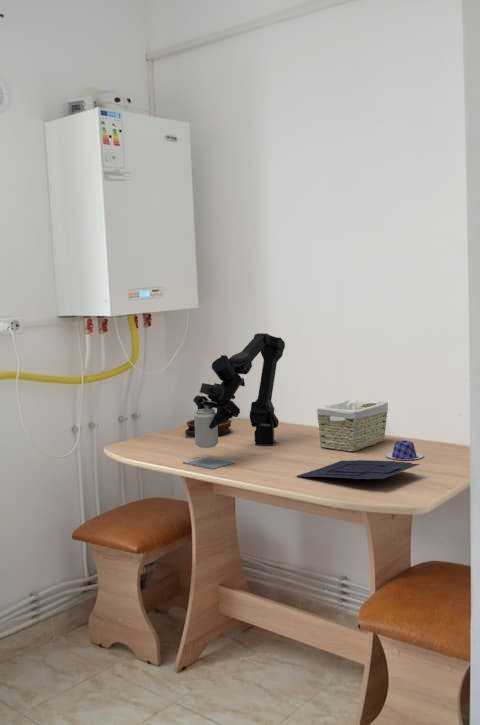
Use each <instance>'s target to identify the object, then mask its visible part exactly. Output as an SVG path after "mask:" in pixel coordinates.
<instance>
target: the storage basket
mask: <svg viewBox="0 0 480 725" xmlns="http://www.w3.org/2000/svg"><path fill="white" fill-rule="evenodd" d="M316 409H317V412H316V415H317V423H318V430H319V432H318V433H319V443H320V444H319V445H320V447H321V448H325V449H326V448H327V449H331V450H338V451H344V452H356V451H359V450H362V449H365V448H367V447H371V446H374V445H376V444H379V443H381V442H384V441H386V440H385V438H386V431H387V430H386V429H387V418H388V411H389V403H388V401H386V400H385V401H384V400H382V401H381V400H372V399H359V398H352V399H345V400H341V401H340V400H339V401H336V402H333V403H327V404H323V405H322V406H321V405H320V406H319V407H317V408H316Z"/></svg>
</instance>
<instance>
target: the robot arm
mask: <svg viewBox="0 0 480 725" xmlns="http://www.w3.org/2000/svg"><path fill="white" fill-rule="evenodd" d="M285 348H286V343H285V341H284V340H283V338H281V337H276V336H274V335H270V334H268V333H263V332H262V333H256V334H254V335H253V338H252V339H251V340H250V341H249V342H248V344H247V345H246V346H245V347H244V348H243V350H241V351H240V352H238V353H236V354H233V355H231V356H230V357H228V356H227V355H226V354H224V355H223V354H222V355H220V357H218V358H217V359H215V360H214V361H213V362H212V364H211V369H212V370H213V372H214V374H216V376H217V378H218V379H219V381H221V382H220V383H217V382H214V384H210V383H201V386H200V389H199V393H200V394H204V395H195V397H194V398H193V399H192V401H193V403H195V405H196V406H197V410H199V409H216V412H215V413H216V415H215V417H214V418H213V420H212V422H211V424H210V426H209V428H210V429H213V428H214V427H216V426H217V425H219V424H221V423H222V422H224V421H226V420H228V419H229V420H231V419H233V418H238V416H239V415H240V413H241V408H240V407H238V405H237V404H236V403H235V401H233V400H235V399H236V395H235V394H236V393H237V391H238V389H239V388H240V387H245V386H246V382H245V377H242V376H241V375H247V374H248V373H249V372H250V371H251V369H252V368H253V363H252V362H253V361H254V359H255V358H256V357H257V356H258V355H259V354H261V357H262V359H263V362H262V368H261V376H260V382H259V388H258V394H257V395H258V396H257V399H256V400H255V401H252V402H251V405H250V411H249V420H250V424H251V428H255V430H254V444H255V446H274V444H275V443H276V440H275V429H277V428H278V427H279V424H280V423H279V421H280V420H279V419H278V417H277V416H276V414H275V407H274V405H273V402H272V398H273V391H274V384H275V377H276V371H277V365H278V364H277V363H278V362H279V360H280V359H281V358H282V357H283V354H284V350H285ZM205 395H206V396H205Z"/></svg>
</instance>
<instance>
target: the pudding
mask: <svg viewBox="0 0 480 725" xmlns="http://www.w3.org/2000/svg"><path fill="white" fill-rule="evenodd" d="M385 456H386V457H387V458H389V459H392V460H398V461H413V460H419V459H421V458H423V457H424V455H423V454H422V453H421V452H417V451H416V449H415V445H414V442H413V441H411V440H402V439H401V440H397V441H395V442H394V446H393V449H392V451H390V452H388V453H386V454H385ZM417 456H418V458H417Z"/></svg>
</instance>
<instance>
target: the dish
mask: <svg viewBox="0 0 480 725" xmlns="http://www.w3.org/2000/svg"><path fill="white" fill-rule="evenodd" d="M232 422H233V421H232V420H231V419H228V420H226V421H224V422H222V423H221V424H219V425H218V436H222V435H225V434H226V433H228V431H229V429H230V427H231V426H232ZM186 425H187V427H188V428H187V429H185V431H184V434H185V436H189V437H190V436H191V437H192V436H194V437H195V423H194V419H192V420H188V421H186Z"/></svg>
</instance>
